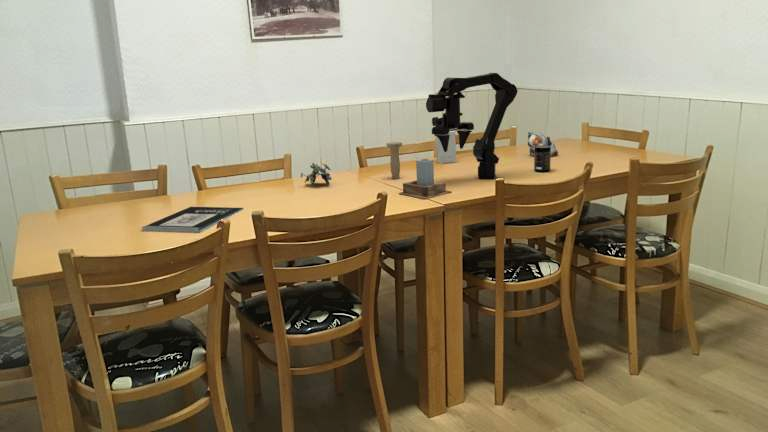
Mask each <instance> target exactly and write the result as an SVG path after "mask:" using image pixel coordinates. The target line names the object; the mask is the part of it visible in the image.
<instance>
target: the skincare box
mask: <svg viewBox="0 0 768 432" xmlns="http://www.w3.org/2000/svg"><path fill="white" fill-rule="evenodd" d="M447 135H450V137H449V143H448V149H447V152H444V150H443V147H442V144H441V142H440V140H439V138H438V137H437V136H435V135H434V137H435V153H436V162H437V163H438V164H440V165H442V164H449V163H456V162H457V154H456V152H457V151H456V149H457V147H456V146H457V145H456V144H457V143H456V130H454V131H449V133H448V134H447Z"/></svg>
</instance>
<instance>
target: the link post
mask: <svg viewBox="0 0 768 432" xmlns="http://www.w3.org/2000/svg"><path fill="white" fill-rule="evenodd" d="M415 161H416V162H415V163H416V180H417V185H421V186H429V185H433V184H435V173H434V159H429V158H422V159H417V160H415Z"/></svg>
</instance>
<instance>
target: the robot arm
mask: <svg viewBox="0 0 768 432" xmlns="http://www.w3.org/2000/svg"><path fill="white" fill-rule="evenodd" d="M442 82H443V83H442V85H441V87H440V89H439V90H438V92H437V93H435V94H434V93H433V94H428V98H427V99H426V102H425V107H426V111H427V112H428V113H440V112H444V113H442V117H440V118H439V116H435V117H432V119H431V125H432V126H433V127H432V128H431V135H434V137H435V136H437V137H438V138H439V140H440V142H441V144H442V147H443V150H444V152H447V149H448V143H449V137H450V135H447V134H448V133H449V131H456V133H457V134H458V141H459V142H458V143H459V149H461V150H462V149H463V148H464V146H465V143H466V142H467V139H468V138H469V136H470V134H471V133H472V132H473V131H472V130H475V125H474V123H473V122H471V121H462V122H461V116H463V112H461V99H464V98H466V95H464V94H463V93H462V92H463V91H465V90H467V89H469V88H473V87H474V88H475V87H478V86H479V87H480V86H485V85H490V86H491V88H492V89H493V90H494V91H495V94H494V99H495V100H494V101H495V105H494V107H493V110H492V112H491V115H490V117H489V119H488V122H487V125H486V127H485V130H484V133H483V135H482V137H481V138H480V139H478V138H476V140H475V142H474V145H473V147H472V154H473V156H474V158H475V160H476V162H477V163H479V164H478V166H477V177H478V179H480V180H483V179H484V180H488V179H489V180H490V179H491V180H494V179H496V178H497V174H496V171H497V170H496V165H498V163H499V161H500V158H499V157H498V156H497V154H495V149H496V146H495V145H496V144H495V140H496V137H497V134H498V132H499V129H500V127H501V124H502V121H503V119H504V116H505V115H506V114H505V113H506V111H507V110H508V109H507V108H508V107H509V106H510V104H512V103H513V102H514V100H515V98H516V97H517V95H518V88H517V86H516V85H515V84H514V83H511V82H510V81H508V80H507V79H505V78H504V77H502V76H501V75H500V74H499V73H497V72H488V73H484V74H479V75H474V76H473V75H472V76H467V77H446V78H445V79H444V80H443V81H442Z"/></svg>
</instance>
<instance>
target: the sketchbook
mask: <svg viewBox="0 0 768 432" xmlns="http://www.w3.org/2000/svg"><path fill="white" fill-rule="evenodd" d="M243 209H244V207H225V206H222V207H221V206H216V207H215V206H188V207H187V208H184V209H181V210H180V211H177V212H174V213H172V214H171V215H170V214H169V215H168V216H166V217H164V218H163V217H162V218H161V219H158V220H156V221H154V222H151V223H149V224H147V225H144V226H142V227H141V231H142V232H157V233H158V232H159V233H162V232H164V233H165V232H166V233H170V232H171V233H172V232H173V233H190V234H191V233H195V234H198V233H199V234H200V233H203V232H204V231H206V230H208V229H210V228H212V227H214V226H215V225H218V224H217V222H218V221H219V220H221V219H225V220H227V219H229V218H231V217H233V216H235V215H236V214H235V213H237V212H238V213H240V212H242V211H244V210H243ZM241 210H242V211H241ZM239 211H240V212H239ZM238 213H237V214H238ZM234 214H235V215H234ZM232 215H233V216H232ZM230 216H231V217H230Z"/></svg>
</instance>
